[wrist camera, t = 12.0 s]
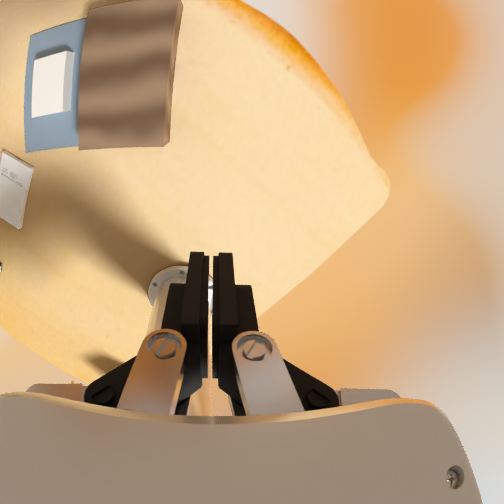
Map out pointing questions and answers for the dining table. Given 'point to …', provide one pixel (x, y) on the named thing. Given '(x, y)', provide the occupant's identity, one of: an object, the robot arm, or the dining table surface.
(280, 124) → the dining table surface
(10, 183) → the external hard drive
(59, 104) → the white foam block
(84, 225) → the dining table surface
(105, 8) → the brown flat block
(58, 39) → the mat
